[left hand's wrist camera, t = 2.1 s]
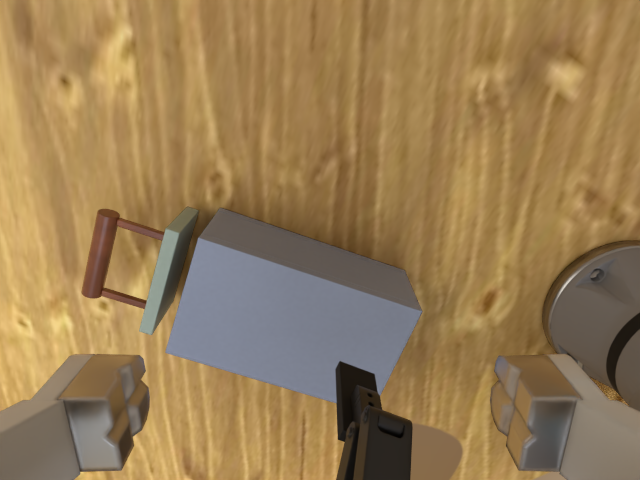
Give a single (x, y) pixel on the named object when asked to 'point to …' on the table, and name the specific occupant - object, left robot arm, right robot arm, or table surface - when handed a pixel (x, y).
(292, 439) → the table surface
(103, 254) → the drawer
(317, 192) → the table surface
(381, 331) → the cabinet
